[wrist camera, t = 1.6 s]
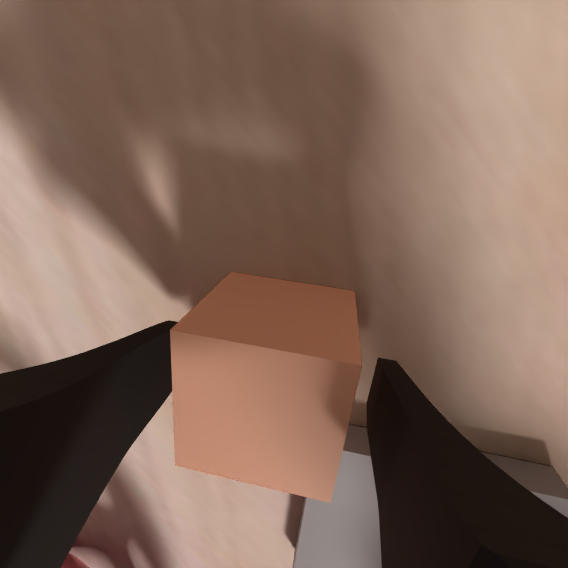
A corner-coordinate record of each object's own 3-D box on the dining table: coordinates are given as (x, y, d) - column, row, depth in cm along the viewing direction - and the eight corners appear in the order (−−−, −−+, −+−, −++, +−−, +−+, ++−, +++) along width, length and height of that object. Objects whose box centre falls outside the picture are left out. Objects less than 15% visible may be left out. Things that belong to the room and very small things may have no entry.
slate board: (476, 598, 17) (488, 636, 16) (294, 550, 18) (290, 582, 17) (552, 466, 13) (577, 501, 12) (318, 418, 15) (316, 444, 13)
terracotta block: (334, 392, 14) (330, 503, 9) (227, 371, 15) (175, 465, 10) (354, 290, 12) (362, 365, 8) (231, 271, 13) (170, 330, 8)
